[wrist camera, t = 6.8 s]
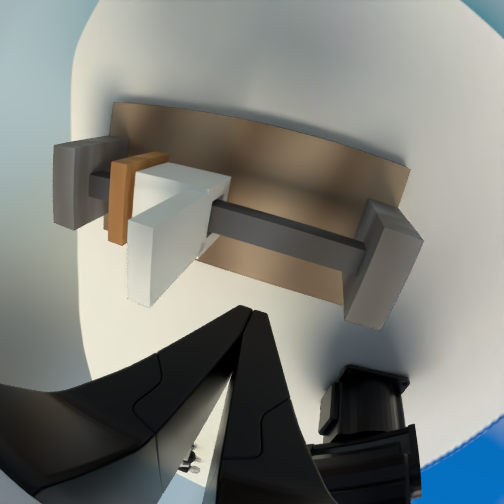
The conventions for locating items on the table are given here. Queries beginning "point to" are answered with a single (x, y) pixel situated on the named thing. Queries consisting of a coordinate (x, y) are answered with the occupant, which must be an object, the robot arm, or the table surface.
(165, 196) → the white l-bracket
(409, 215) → the table surface
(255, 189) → the rail board
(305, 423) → the table surface
